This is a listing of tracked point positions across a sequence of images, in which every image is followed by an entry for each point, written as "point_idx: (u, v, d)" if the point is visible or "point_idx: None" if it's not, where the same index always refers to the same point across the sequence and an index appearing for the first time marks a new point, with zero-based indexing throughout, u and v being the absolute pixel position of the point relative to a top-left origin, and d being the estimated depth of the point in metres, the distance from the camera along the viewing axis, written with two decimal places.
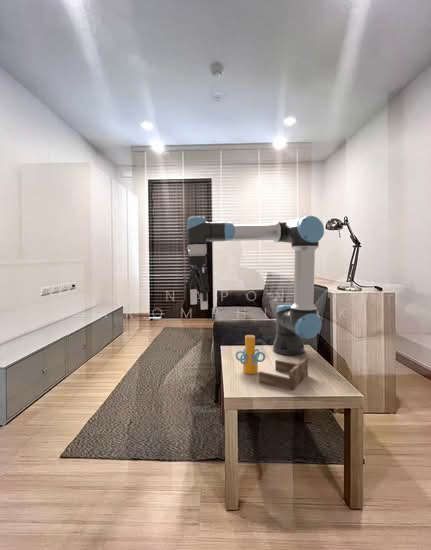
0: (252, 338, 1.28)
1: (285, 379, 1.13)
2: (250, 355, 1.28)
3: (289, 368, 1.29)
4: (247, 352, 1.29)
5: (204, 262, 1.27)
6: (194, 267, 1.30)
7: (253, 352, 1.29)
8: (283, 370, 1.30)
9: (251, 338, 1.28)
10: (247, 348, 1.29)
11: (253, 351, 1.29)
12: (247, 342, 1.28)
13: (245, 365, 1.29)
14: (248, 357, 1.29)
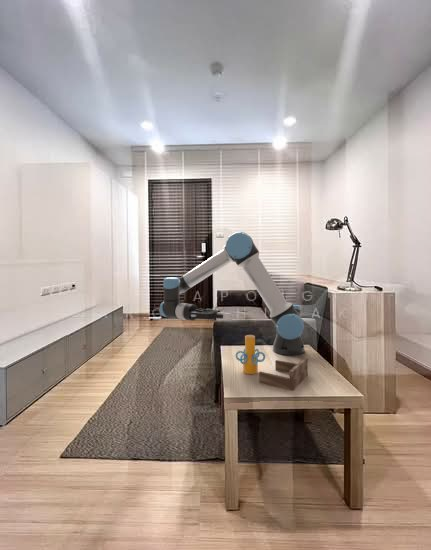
0: (252, 338, 1.28)
1: (285, 379, 1.13)
2: (250, 355, 1.28)
3: (289, 368, 1.29)
4: (247, 352, 1.29)
5: (188, 309, 1.43)
6: None
7: (253, 352, 1.29)
8: (283, 370, 1.30)
9: (251, 338, 1.28)
10: (247, 348, 1.29)
11: (253, 351, 1.29)
12: (247, 342, 1.28)
13: (245, 365, 1.29)
14: (248, 357, 1.29)
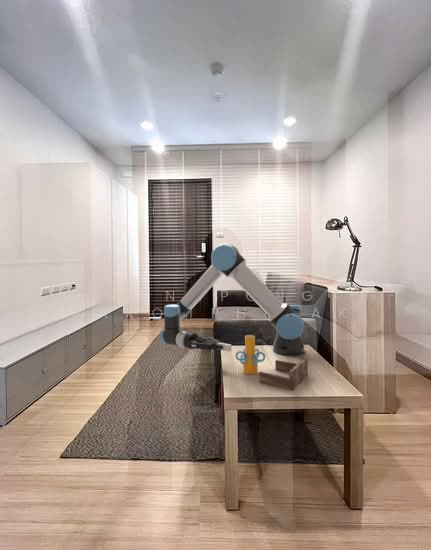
0: (252, 338, 1.28)
1: (285, 379, 1.13)
2: (250, 355, 1.28)
3: (289, 368, 1.29)
4: (247, 352, 1.29)
5: (188, 338, 1.44)
6: None
7: (253, 352, 1.29)
8: (283, 370, 1.30)
9: (251, 338, 1.28)
10: (247, 348, 1.29)
11: (253, 351, 1.29)
12: (247, 342, 1.28)
13: (245, 365, 1.29)
14: (248, 357, 1.29)
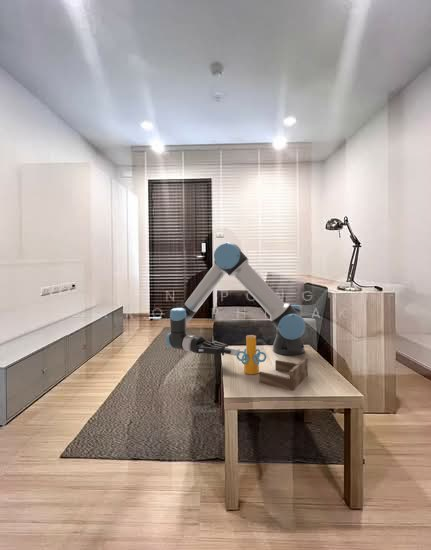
0: (253, 338, 1.28)
1: (285, 379, 1.13)
2: (251, 355, 1.28)
3: (289, 368, 1.29)
4: (248, 352, 1.28)
5: (195, 342, 1.42)
6: None
7: (254, 352, 1.28)
8: (283, 370, 1.30)
9: (252, 338, 1.28)
10: (248, 348, 1.28)
11: (254, 351, 1.28)
12: (248, 342, 1.28)
13: (246, 365, 1.28)
14: (249, 357, 1.28)
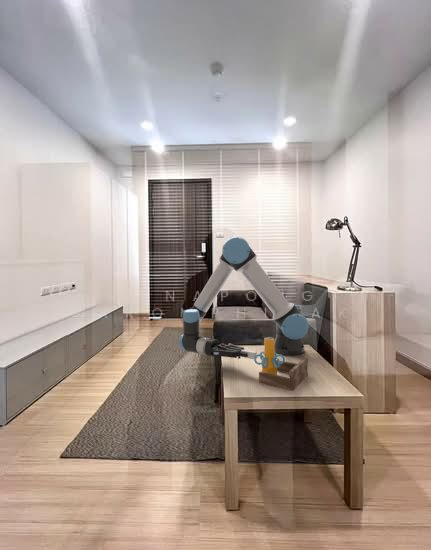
0: (272, 340, 1.24)
1: (285, 379, 1.13)
2: (270, 358, 1.24)
3: (289, 368, 1.29)
4: (267, 355, 1.24)
5: (209, 345, 1.37)
6: None
7: (273, 355, 1.24)
8: (283, 370, 1.30)
9: (271, 341, 1.24)
10: (267, 351, 1.24)
11: (273, 354, 1.24)
12: (267, 345, 1.24)
13: (265, 369, 1.24)
14: (268, 360, 1.24)
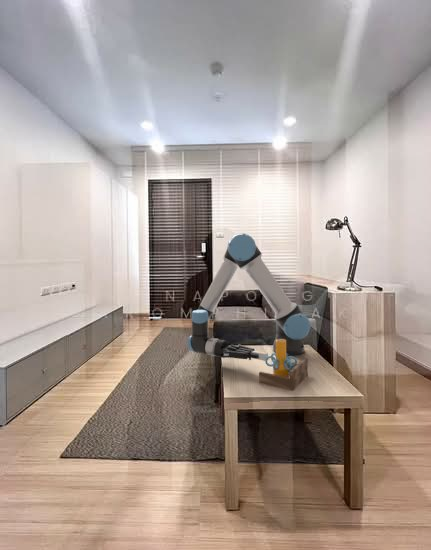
0: (284, 342, 1.21)
1: (285, 379, 1.13)
2: (282, 360, 1.22)
3: None
4: (279, 357, 1.22)
5: (219, 346, 1.35)
6: None
7: (285, 357, 1.22)
8: None
9: (283, 342, 1.21)
10: (279, 353, 1.22)
11: (285, 356, 1.22)
12: (279, 346, 1.21)
13: (277, 371, 1.22)
14: (280, 362, 1.22)
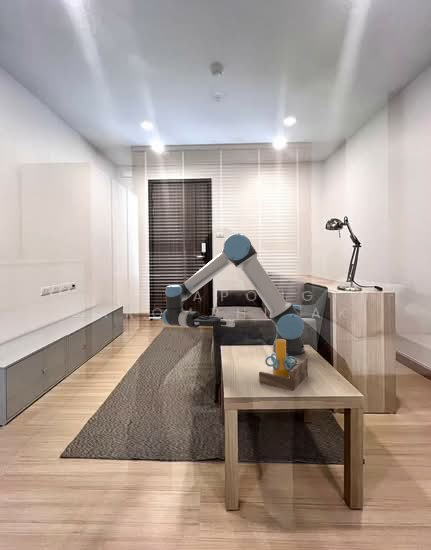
0: (284, 342, 1.21)
1: (285, 379, 1.13)
2: (282, 360, 1.22)
3: None
4: (278, 357, 1.22)
5: (191, 317, 1.43)
6: None
7: (285, 357, 1.22)
8: None
9: (283, 342, 1.21)
10: (279, 353, 1.22)
11: (285, 356, 1.22)
12: (279, 347, 1.22)
13: (277, 371, 1.22)
14: (280, 362, 1.22)
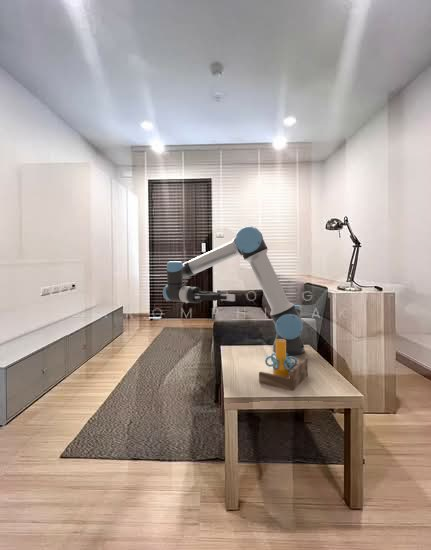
0: (284, 342, 1.21)
1: (285, 379, 1.13)
2: (282, 360, 1.22)
3: None
4: (278, 357, 1.22)
5: (191, 291, 1.44)
6: None
7: (285, 357, 1.22)
8: None
9: (283, 342, 1.21)
10: (279, 353, 1.22)
11: (285, 356, 1.22)
12: (279, 347, 1.22)
13: (277, 371, 1.22)
14: (280, 362, 1.22)
